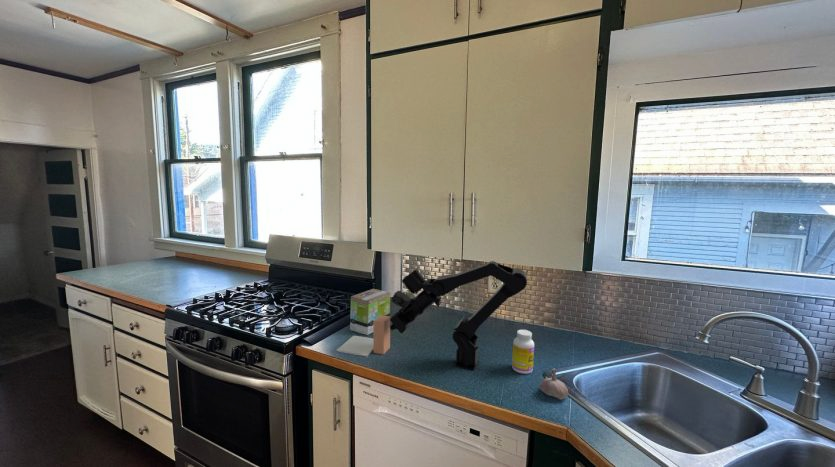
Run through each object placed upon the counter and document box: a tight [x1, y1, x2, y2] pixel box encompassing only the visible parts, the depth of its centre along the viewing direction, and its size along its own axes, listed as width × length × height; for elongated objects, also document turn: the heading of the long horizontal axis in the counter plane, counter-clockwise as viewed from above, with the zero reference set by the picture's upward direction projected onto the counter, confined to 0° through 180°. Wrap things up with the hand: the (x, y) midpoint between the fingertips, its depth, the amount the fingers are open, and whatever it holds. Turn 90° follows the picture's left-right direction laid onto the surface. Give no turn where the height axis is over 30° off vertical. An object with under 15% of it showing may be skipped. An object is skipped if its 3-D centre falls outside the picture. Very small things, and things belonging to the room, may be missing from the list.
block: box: [372, 315, 391, 355], centre depth 126 cm, size 4×6×12 cm, turn 163°
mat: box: [336, 335, 373, 358], centre depth 129 cm, size 12×13×1 cm
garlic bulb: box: [539, 367, 569, 400], centre depth 100 cm, size 8×7×8 cm
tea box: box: [349, 288, 391, 336], centre depth 146 cm, size 15×10×15 cm
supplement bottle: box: [511, 329, 535, 375], centre depth 114 cm, size 7×7×13 cm
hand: (390, 328), depth 124 cm, fingers closed
